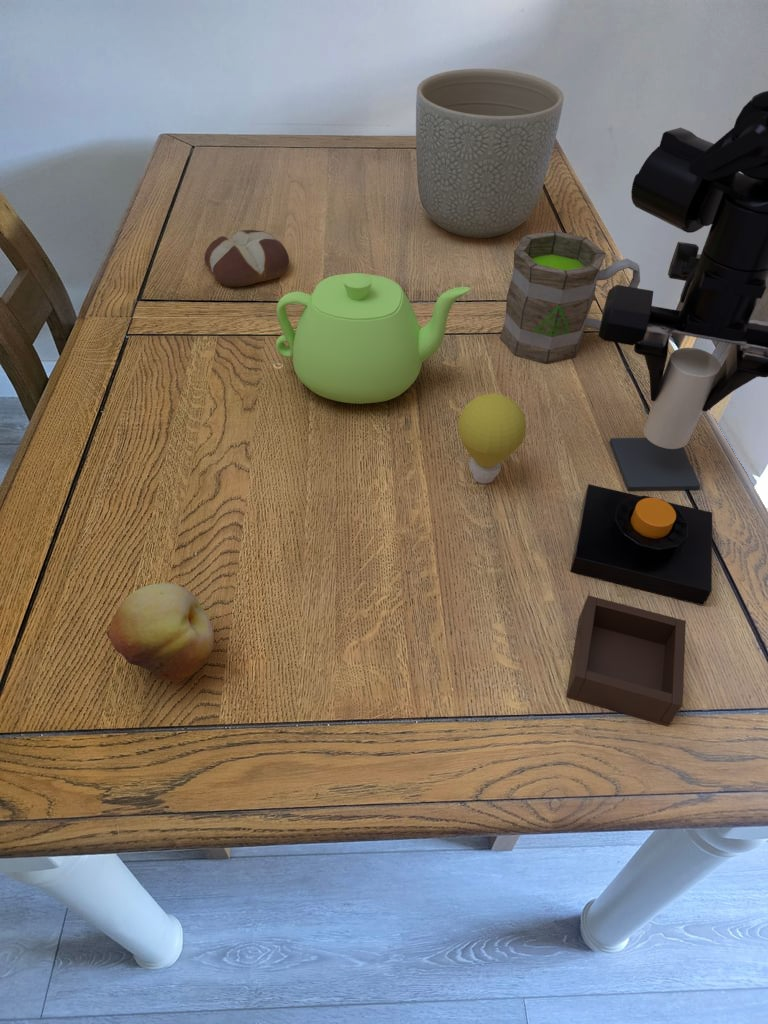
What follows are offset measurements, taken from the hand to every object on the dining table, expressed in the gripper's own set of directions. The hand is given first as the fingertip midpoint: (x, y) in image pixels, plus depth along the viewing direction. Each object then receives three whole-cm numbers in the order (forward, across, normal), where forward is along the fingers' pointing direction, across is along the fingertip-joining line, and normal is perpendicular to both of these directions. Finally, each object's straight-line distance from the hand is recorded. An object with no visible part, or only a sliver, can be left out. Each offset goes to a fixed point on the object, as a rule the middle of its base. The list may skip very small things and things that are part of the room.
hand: (678, 403), depth 70 cm
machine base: (+9, +1, +12) cm, 15 cm away
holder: (+9, +1, +26) cm, 28 cm away
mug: (+9, +13, -21) cm, 26 cm away
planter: (+8, +31, -50) cm, 59 cm away
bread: (+8, +59, -24) cm, 64 cm away
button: (+5, +1, +12) cm, 13 cm away
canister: (+4, 0, 0) cm, 4 cm away
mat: (+8, 0, 0) cm, 9 cm away
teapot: (+9, +34, -5) cm, 35 cm away
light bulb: (+9, +17, +7) cm, 21 cm away
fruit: (+9, +37, +37) cm, 53 cm away
